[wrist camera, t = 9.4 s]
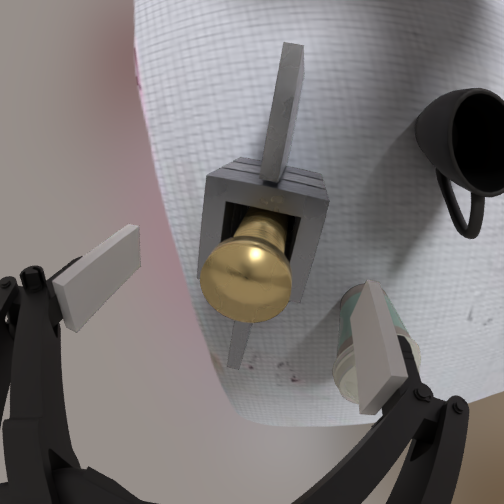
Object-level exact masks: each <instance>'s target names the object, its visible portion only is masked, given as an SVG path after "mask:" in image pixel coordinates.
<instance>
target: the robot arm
mask: <svg viewBox="0 0 504 504" xmlns="http://www.w3.org/2000/svg"><path fill="white" fill-rule="evenodd" d="M139 267H141V261H140V233H139V226H136V225H132V224H128V225H126V226H125V227H123V228H122V229H120V230H119V231H118V232H116V233H115V234H113V235H112V236H110V237H109V238H108V239H106V240H105V241H103V242H102V243H101V244H99V245H98V246H97V247H95V248H94V249H93V250H91V251H90V252H89V253H87V254H86V255H84V256H81V257H78V258H76V259H74V260H72V261H71V262H70V263H68V264H67V265H66V266H64V267H63V268H62V269H61V270H60V271H58V272H57V273H56V274H54V275H53V276H52V277H51V278H49V279H48V280H47V281H46V279H45V275H44V271H43V268H42V267H40V266H30V267H28V268H26V269H24V270H23V271H22V272H21V273H20V278H21V281H22V285H23V287H22V286H18V284H17V281H16V279H15V278H14V277H11V276H9V277H4V278H2V279H1V280H0V426H1V421H2V416H3V411H4V406H5V402H6V398H7V394H8V390H9V386H10V418H9V419H7V420H4V422H3V428H2V430H3V446H4V456H5V465H6V471H7V478H8V482H5V483H0V504H156V503H151V502H145V501H142V500H140V499H138V498H137V497H135V496H134V495H132V494H131V493H130V492H129V491H127V490H126V489H125V488H123V487H122V486H121V485H119V484H118V483H117V482H116V481H114V480H113V479H110V478H109V477H107V476H105V475H103V474H101V473H99V472H98V471H96V470H94V469H92V468H91V467H88V468H87V469H81V467H80V464H79V461H78V459H77V457H76V455H75V453H74V451H73V449H72V445H71V440H70V435H69V430H68V424H67V418H66V410H65V402H64V393H63V384H62V369H61V328H60V324H59V322H60V321H61V320H62V319H64V323H65V326H66V327H67V328H68V329H70V330H72V331H74V332H76V333H77V332H78V331H79V330H80V329H81V328H82V327H83V326H84V325H85V324H86V323H87V321H88V320H89V319H90V318H91V317H92V316H93V315H94V314H95V313H96V311H97V310H99V308H100V307H101V306H102V305H103V304H104V303H105V302H106V301H107V300H108V299H109V298H110V297H111V296H112V295H113V294H114V293H115V292H116V291H117V290H118V289H119V288H120V287H121V286H122V285H123V283H125V282H126V280H127V279H128V278H129V277H130V276H131V275H132V274H133V273H134V272H135V271H136V270H137V269H138V268H139ZM6 315H7V318H8V320H7V322H5V317H6ZM350 322H351V329H352V337H353V345H354V353H355V363H356V373H357V384H358V396H359V411H360V414H366V415H376V414H377V413H378V411H379V410H380V409H381V408H382V414H383V416H382V417H381V418H380V419H379V420H378V421H377V422H376V423H375V424H374V425H373V426H372V428H371V429H370V430H369V432H368V433H367V434H366V435H365V436H364V437H363V438H362V439H361V441H360V442H359V443H358V444H357V445H356V446H355V447H354V448H353V449H352V450H351V451H350V452H349V453H348V454H347V455H346V456H345V457H344V458H343V459H342V460H341V461H340V462H339V463H338V464H337V465H336V466H335V467H334V468H333V469H332V470H331V471H330V472H328V473H327V474H326V475H325V476H324V477H323V478H322V479H321V480H320V481H318V482H317V483H316V484H315V485H314V486H313V487H311V488H310V489H309V490H308V491H307V492H305V493H304V494H303V495H302V496H301V497H299V498H298V499H297V500H295V501H294V502H293V503H291V504H361V503H362V502H363V501H364V500H365V499H366V498H367V497H368V495H369V494H370V493H371V492H372V491H373V489H374V488H375V487H376V486H377V485H378V484H379V482H380V481H381V480H382V479H383V478H384V476H385V475H386V474H387V472H388V471H389V470H390V469H391V467H392V466H393V464H394V463H395V462H396V460H397V459H398V458H399V456H400V455H401V453H402V452H403V451H404V449H405V448H406V446H407V444H408V443H409V442H410V440H411V439H412V442H411V444H410V447H409V450H408V453H407V456H406V458H405V461H404V464H403V466H402V469H401V471H400V474H399V476H398V478H397V481H396V483H395V485H394V487H393V490H392V492H391V494H390V496H389V498H388V500H387V502H386V504H451V501H452V498H453V495H454V491H455V488H456V484H457V480H458V476H459V472H460V468H461V463H462V458H463V453H464V448H465V441H466V435H467V428H468V420H469V407H468V404H467V402H466V401H465V400H464V399H463V398H462V397H460V396H452V397H451V398H449V399H448V400H447V401H443V400H440V399H437V398H435V397H433V393H432V391H431V389H430V388H429V387H428V386H427V385H425V384H423V383H421V379H420V376H419V372H418V369H417V365H416V362H415V360H414V359H415V358H414V355H413V354H412V349H411V346H410V343H409V342H408V341H407V339H406V338H405V336H401V335H397V334H396V331H395V328H394V324H393V321H392V318H391V315H390V312H389V309H388V306H387V303H386V300H385V297H384V294H383V291H382V288H381V286H380V283H379V282H376V281H372V280H368V279H367V281H366V283H365V285H364V288H363V290H362V292H361V295H360V297H359V299H358V301H357V304H356V306H355V308H354V310H353V312H352V315H351V317H350ZM10 382H11V384H10Z"/></svg>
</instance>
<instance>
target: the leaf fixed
mask: <svg viewBox="0 0 504 504" xmlns="http://www.w3.org/2000/svg"><path fill="white" fill-rule="evenodd" d="M233 162H237V163H242V164H248V165H253V166H258V167H261V164H262V161H260V160H254V159H249V158H243V157H240V158H238V159H236V160H234V161H233ZM283 172H288V173H292V174H297V175H301V176H305V177H309V178H314V179H318V180H322V181H323V178H322V175H321V174H319V173H315V172H311V171H307V170H303V169H298V168H294V167H289V166H286V167H285V169H284V171H283ZM259 176H260V175H256V174H251V173H246V172H241V171H235V170H230V169H224V168H219V169H217V170H215V171H213V172H211V173H210V174H208V175H207V176H206V185H205V194H204V203H203V213H202V223H201V234H200V246H199V258H198V272H197V278H198V279H200V274H201V270H202V267H203V265H204V263H205V262H206V260H207V258H208V257H209V255H210V254H211V252H212V251H213V249H214V248H215V247H216V246H217V245H218V244H220V243H221V242H222V241H224V240H226V239H229V238H230V231H231V224H232V217H233V210H234V203H238V204H242V209H241V215H240V222H239V225H240V224H241V222H242V220H243V218H244V216H245V215H246V213H247V208H248V206H252V207H257V208H261V209H266V210H271V211H275V212H280V213H284V214H288V215H293V216H296V218H295V222H294V226H293V231H290V230H287V235H286V242H285V244H288V245H291V240H292V236H293V232H294V228H295V224H296V220H297V217H299V220H298V224H297V228H296V232H295V236H294V240H293V244H292V248H291V252H290V256H289V260H288V261H289V263H290V266H291V270H292V287H291V295H290V299H289V301H292V302H296V303H300V301H301V298H302V295H303V292H304V288H305V285H306V282H307V279H308V276H309V272H310V269H311V266H312V263H313V259H314V256H315V252H316V249H317V246H318V242H319V239H320V235H321V232H322V228H323V224H324V221H325V217H326V213H327V210H328V206H329V202H330V200H329V197H328V194H327V190H324V189H320V188H315V187H311V186H307V185H303V184H299V183H294V182H290V181H285V180H281V179H279V181H278V182H273V181H268V180H263V179H259ZM251 327H252V323H247V322H240V321H236V320H235V321H234V327H233V333H232V339H231V345H230V351H229V357H228V363H227V367H231V368H234V369H238V370H239V368H240V365H241V361H242V358H243V354H244V351H245V348H246V344H247V341H248V337H249V334H250V330H251Z"/></svg>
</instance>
